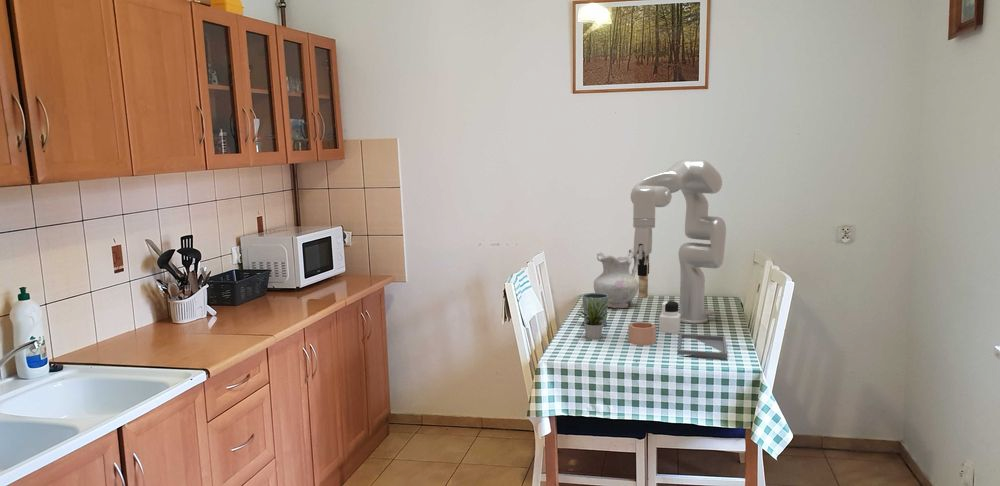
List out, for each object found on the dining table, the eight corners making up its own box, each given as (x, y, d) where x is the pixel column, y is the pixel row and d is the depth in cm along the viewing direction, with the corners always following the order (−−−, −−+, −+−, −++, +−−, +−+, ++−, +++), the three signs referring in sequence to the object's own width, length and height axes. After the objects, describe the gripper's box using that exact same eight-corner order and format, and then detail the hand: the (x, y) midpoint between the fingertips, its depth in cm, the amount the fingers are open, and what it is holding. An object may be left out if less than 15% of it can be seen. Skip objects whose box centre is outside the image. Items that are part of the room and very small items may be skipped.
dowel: (645, 295, 259) (645, 258, 257) (649, 297, 256) (649, 260, 254) (636, 296, 258) (637, 259, 257) (640, 298, 255) (641, 260, 253)
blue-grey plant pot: (610, 327, 283) (610, 297, 282) (584, 328, 282) (585, 298, 281) (604, 321, 293) (604, 292, 292) (579, 322, 292) (580, 292, 291)
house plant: (624, 339, 266) (624, 296, 263) (601, 347, 256) (601, 302, 254) (593, 333, 275) (593, 290, 273) (570, 340, 266) (570, 296, 264)
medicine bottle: (680, 331, 277) (680, 300, 275) (678, 336, 270) (679, 304, 268) (661, 329, 279) (661, 299, 277) (658, 334, 272) (659, 303, 271)
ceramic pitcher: (616, 300, 336) (613, 247, 334) (651, 304, 321) (648, 248, 319) (586, 308, 321) (582, 252, 319) (621, 312, 307) (618, 254, 305)
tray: (679, 339, 265) (679, 333, 265) (725, 342, 261) (725, 336, 261) (677, 356, 244) (677, 350, 244) (727, 360, 240) (727, 353, 240)
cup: (647, 340, 265) (647, 321, 264) (659, 346, 256) (659, 327, 255) (624, 342, 263) (625, 323, 262) (636, 348, 254) (636, 329, 253)
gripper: (638, 220, 262) (637, 270, 265) (628, 225, 247) (627, 278, 250) (659, 220, 260) (658, 271, 262) (650, 226, 245) (649, 279, 247)
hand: (643, 274), depth 256 cm, fingers closed on dowel, 3 cm apart
